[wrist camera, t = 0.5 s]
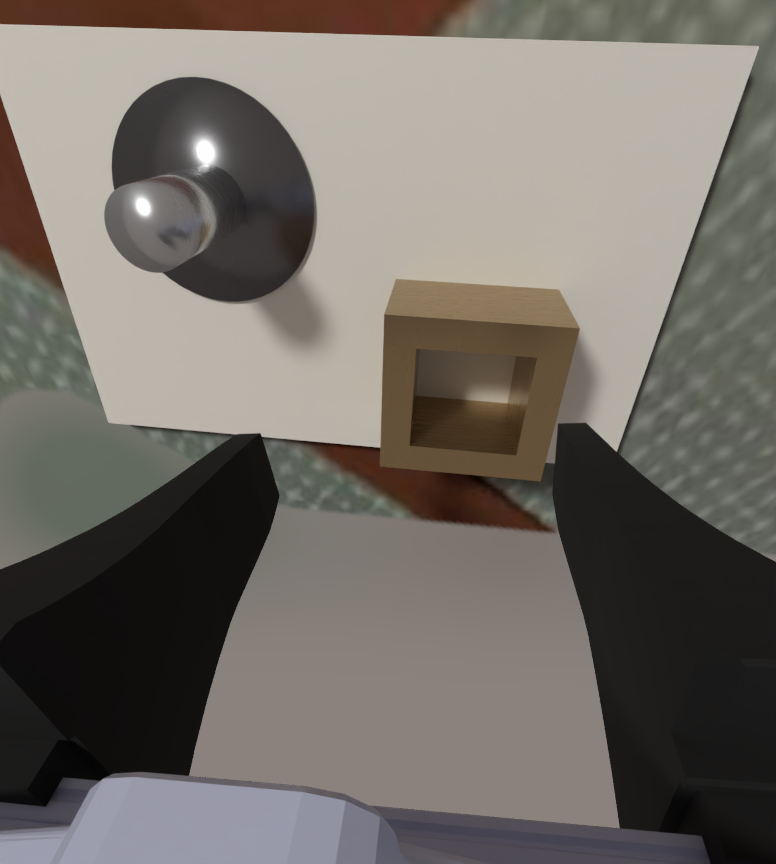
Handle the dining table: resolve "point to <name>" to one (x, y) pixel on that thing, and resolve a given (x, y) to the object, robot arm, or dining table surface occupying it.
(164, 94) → the steel post
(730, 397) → the dining table surface
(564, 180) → the pale board
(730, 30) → the dining table surface
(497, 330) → the bronze collar
